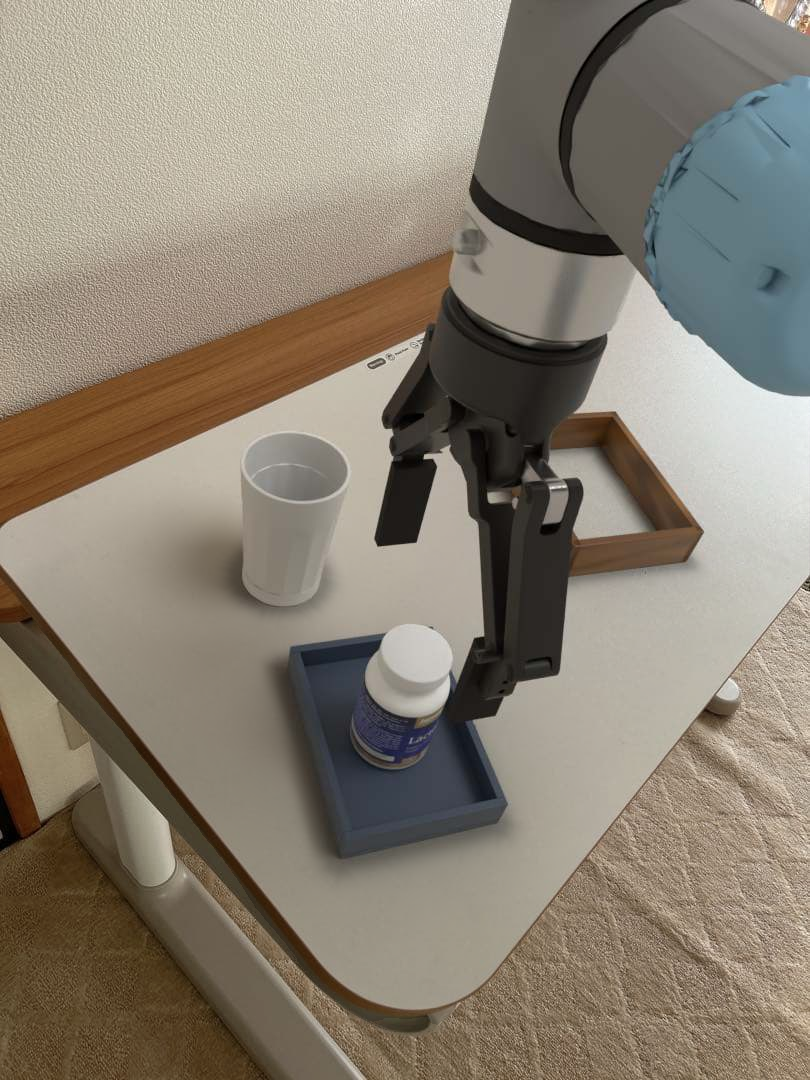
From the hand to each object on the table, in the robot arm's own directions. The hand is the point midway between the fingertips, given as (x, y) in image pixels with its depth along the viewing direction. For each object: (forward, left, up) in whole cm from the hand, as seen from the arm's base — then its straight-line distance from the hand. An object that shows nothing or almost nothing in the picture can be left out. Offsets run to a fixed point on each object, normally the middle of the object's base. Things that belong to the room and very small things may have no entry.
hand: (429, 620), depth 53 cm
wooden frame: (+22, -27, -14) cm, 37 cm away
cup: (+17, +4, -14) cm, 22 cm away
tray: (0, 0, -14) cm, 14 cm away
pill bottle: (0, 0, -14) cm, 14 cm away
